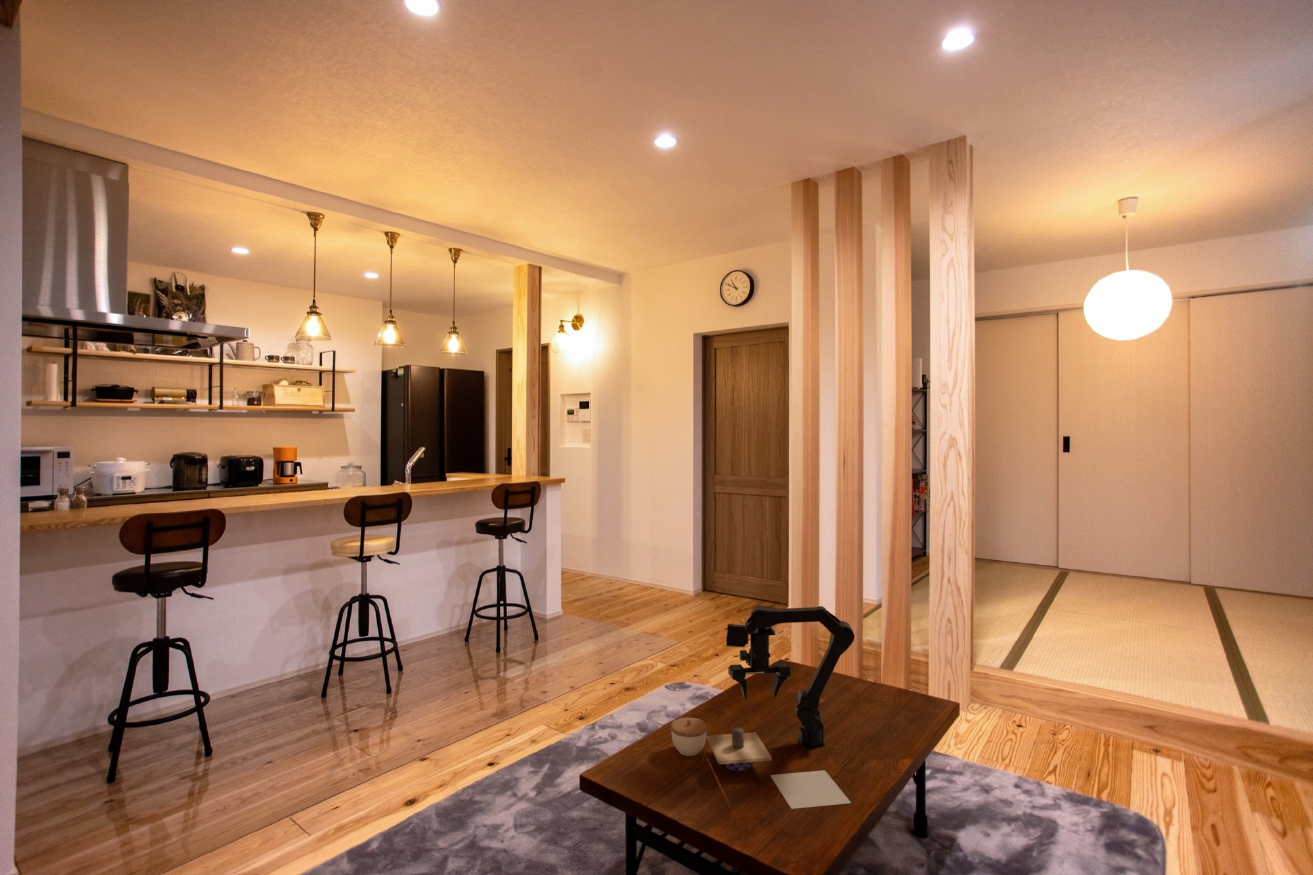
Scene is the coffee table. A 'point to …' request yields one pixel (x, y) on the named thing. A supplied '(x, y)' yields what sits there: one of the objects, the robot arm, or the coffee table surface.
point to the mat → (809, 789)
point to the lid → (738, 747)
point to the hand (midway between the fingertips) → (759, 698)
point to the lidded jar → (688, 735)
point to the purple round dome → (739, 766)
